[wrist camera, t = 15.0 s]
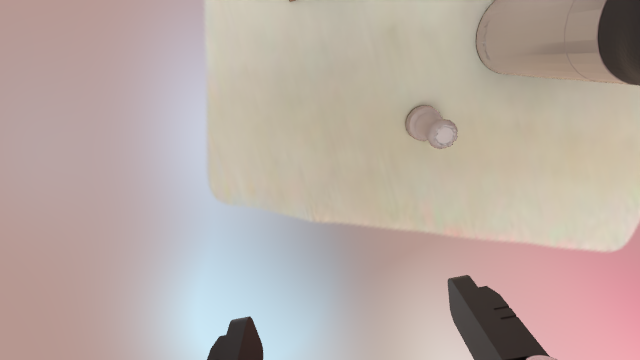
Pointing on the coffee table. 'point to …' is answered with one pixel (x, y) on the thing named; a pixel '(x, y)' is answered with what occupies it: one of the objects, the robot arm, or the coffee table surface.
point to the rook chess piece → (431, 127)
